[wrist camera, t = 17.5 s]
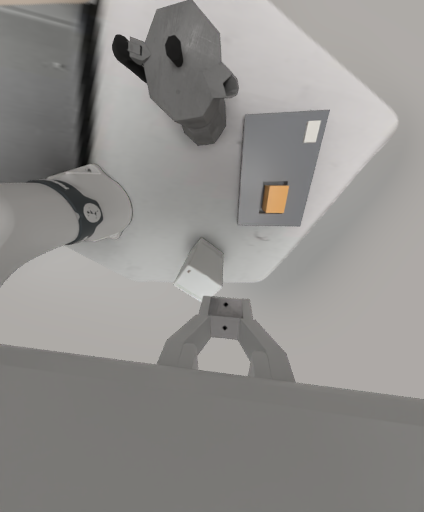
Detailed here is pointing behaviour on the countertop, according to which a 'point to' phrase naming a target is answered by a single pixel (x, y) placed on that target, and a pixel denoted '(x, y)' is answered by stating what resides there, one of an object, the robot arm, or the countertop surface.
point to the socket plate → (279, 163)
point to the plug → (274, 198)
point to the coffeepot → (183, 69)
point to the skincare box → (201, 271)
